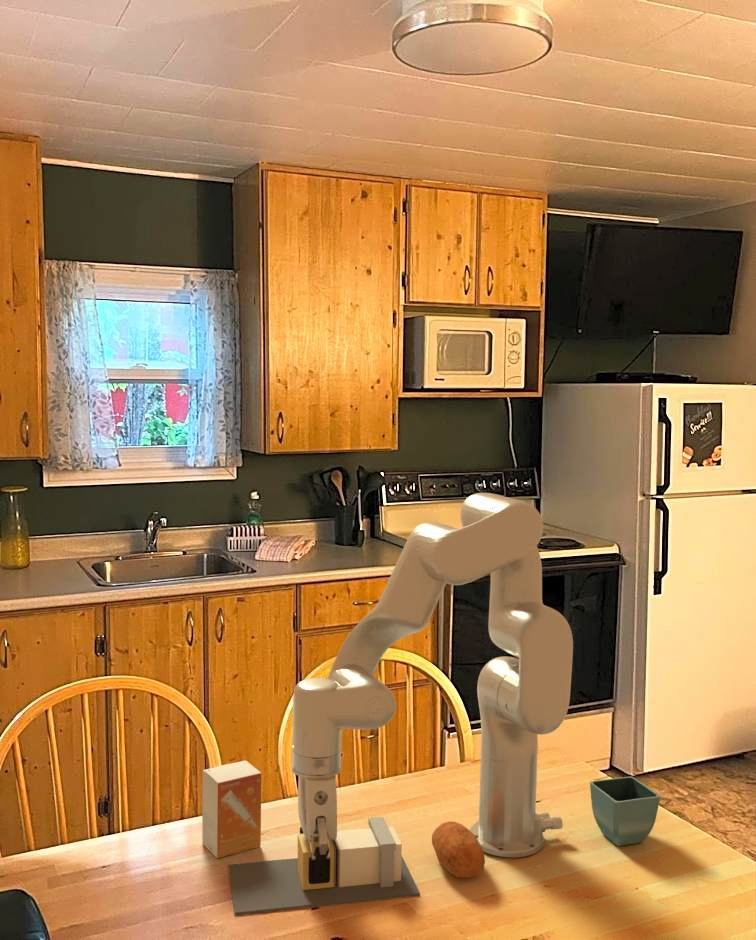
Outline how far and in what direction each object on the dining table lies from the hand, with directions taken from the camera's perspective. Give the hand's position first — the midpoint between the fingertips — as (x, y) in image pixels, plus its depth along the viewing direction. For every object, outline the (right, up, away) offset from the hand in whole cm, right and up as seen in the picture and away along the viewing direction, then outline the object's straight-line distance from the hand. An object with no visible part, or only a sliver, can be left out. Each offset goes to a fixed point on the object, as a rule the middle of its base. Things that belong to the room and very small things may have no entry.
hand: (314, 866), depth 150 cm
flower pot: (+52, -2, +16) cm, 54 cm away
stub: (0, -3, 0) cm, 3 cm away
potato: (+23, -3, +5) cm, 23 cm away
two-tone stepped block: (+8, -3, +2) cm, 9 cm away
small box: (-15, -1, +11) cm, 19 cm away
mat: (+1, -3, +1) cm, 3 cm away
